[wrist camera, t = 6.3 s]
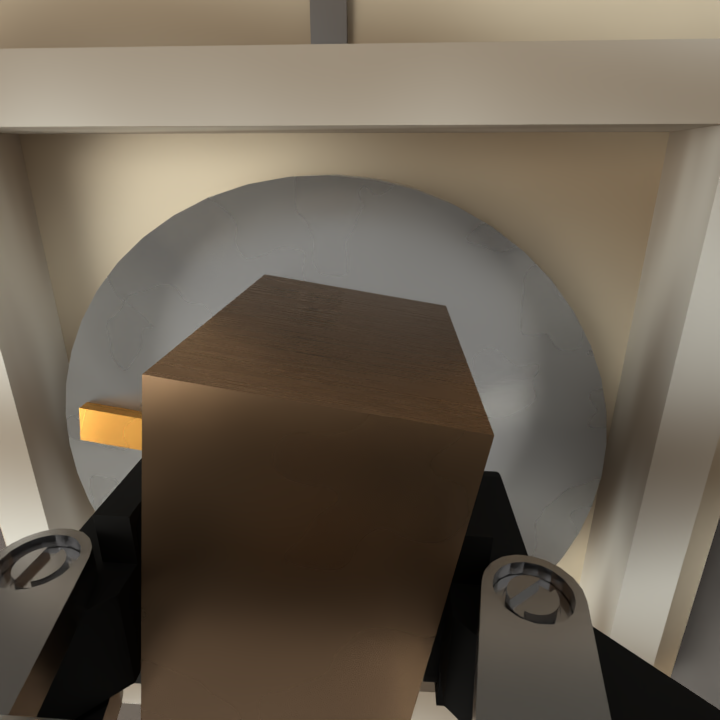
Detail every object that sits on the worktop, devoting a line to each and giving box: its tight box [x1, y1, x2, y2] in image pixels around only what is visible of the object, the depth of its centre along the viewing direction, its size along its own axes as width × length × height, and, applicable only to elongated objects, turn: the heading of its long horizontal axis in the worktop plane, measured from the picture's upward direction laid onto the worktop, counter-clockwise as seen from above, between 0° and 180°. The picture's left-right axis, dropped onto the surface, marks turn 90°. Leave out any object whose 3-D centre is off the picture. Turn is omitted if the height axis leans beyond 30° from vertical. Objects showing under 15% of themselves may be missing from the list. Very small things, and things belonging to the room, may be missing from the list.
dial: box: [66, 174, 606, 720], centre depth 10 cm, size 12×12×7 cm
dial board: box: [0, 0, 720, 720], centre depth 13 cm, size 20×20×4 cm
